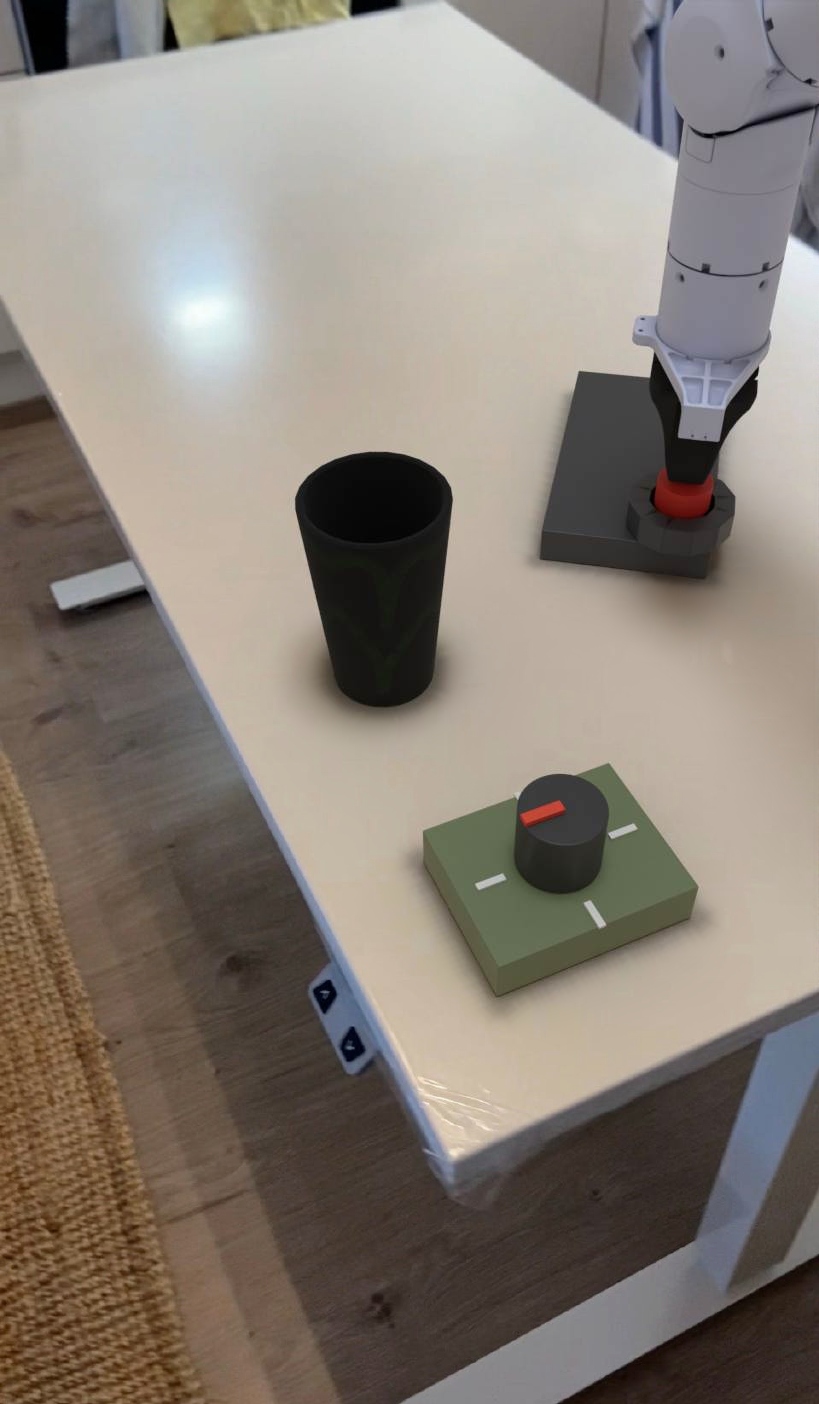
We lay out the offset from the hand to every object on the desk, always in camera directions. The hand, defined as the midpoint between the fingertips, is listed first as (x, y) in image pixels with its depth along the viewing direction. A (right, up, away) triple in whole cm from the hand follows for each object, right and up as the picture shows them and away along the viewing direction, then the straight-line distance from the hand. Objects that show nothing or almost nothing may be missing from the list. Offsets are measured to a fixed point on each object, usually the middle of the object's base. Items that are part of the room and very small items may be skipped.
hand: (686, 476), depth 69 cm
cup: (-17, -11, -2) cm, 21 cm away
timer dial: (-9, -20, -14) cm, 26 cm away
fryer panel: (-9, -22, -12) cm, 27 cm away
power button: (0, -1, +1) cm, 2 cm away
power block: (-1, +1, +9) cm, 9 cm away
